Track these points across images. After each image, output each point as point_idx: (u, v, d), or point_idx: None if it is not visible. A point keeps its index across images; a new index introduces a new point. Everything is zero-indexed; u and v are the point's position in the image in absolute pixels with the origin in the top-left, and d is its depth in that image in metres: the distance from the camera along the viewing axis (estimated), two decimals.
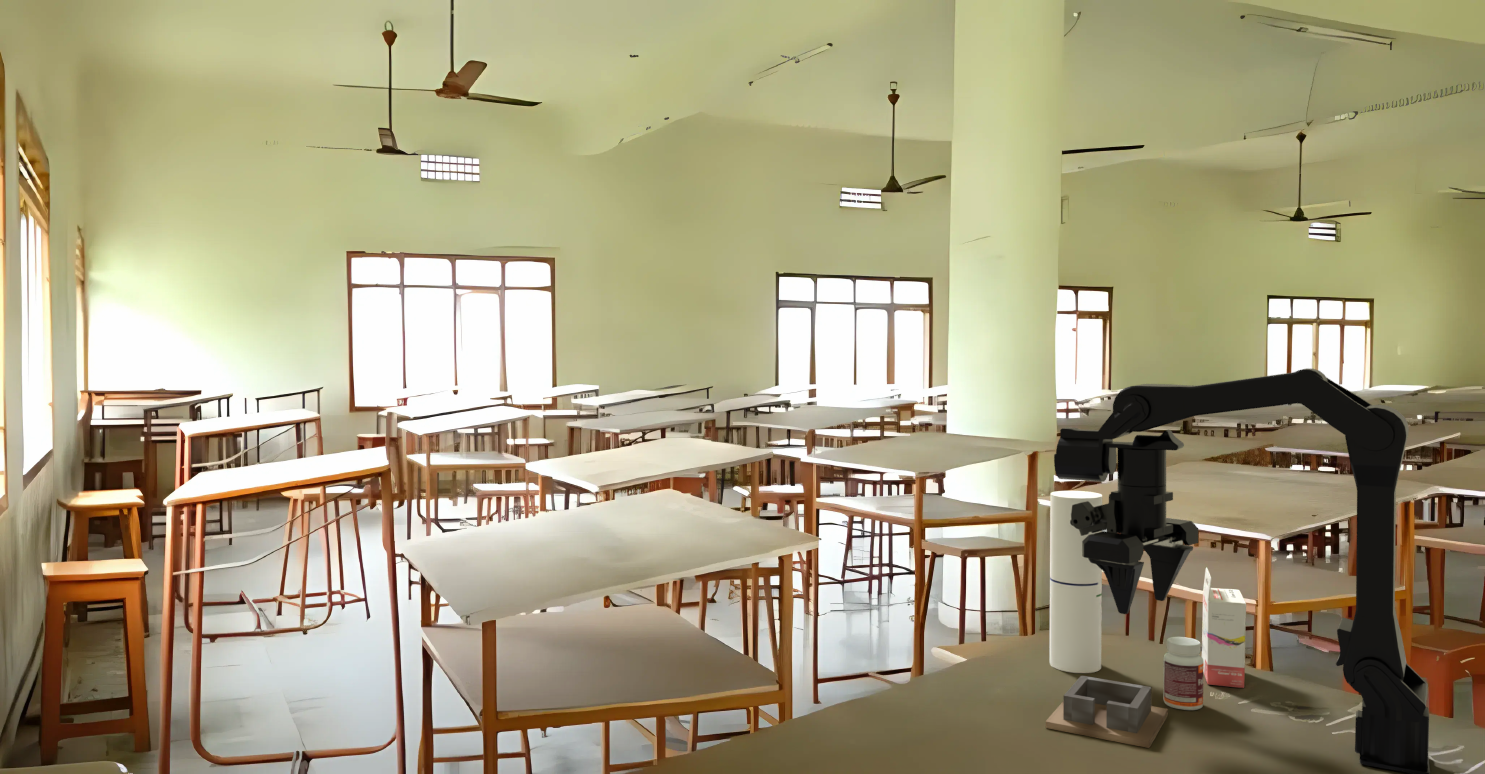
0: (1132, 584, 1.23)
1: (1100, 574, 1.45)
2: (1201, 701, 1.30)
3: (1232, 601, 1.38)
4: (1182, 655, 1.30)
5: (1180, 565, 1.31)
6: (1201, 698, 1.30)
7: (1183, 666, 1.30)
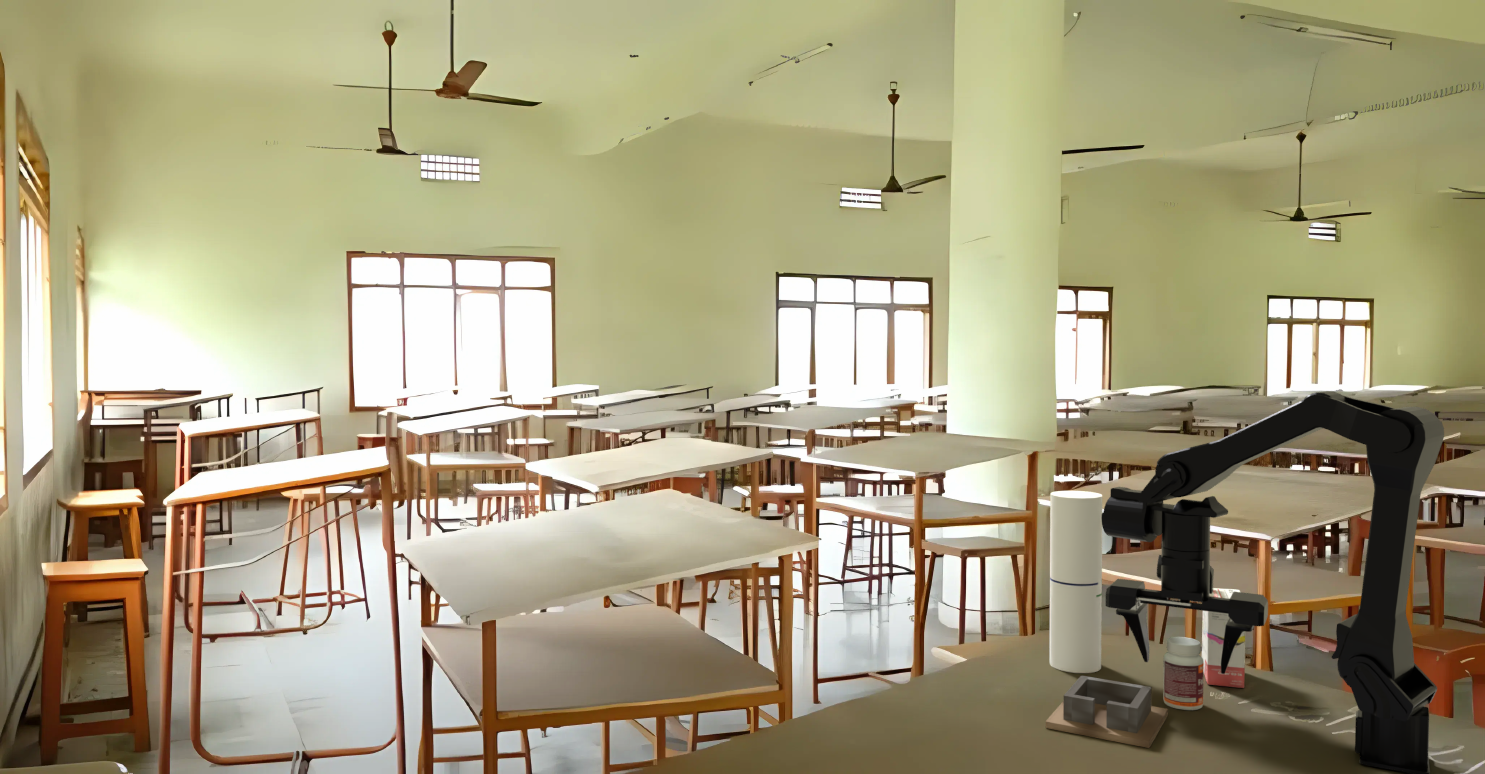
0: (1132, 632, 1.33)
1: (1100, 574, 1.45)
2: (1201, 701, 1.30)
3: None
4: (1182, 655, 1.30)
5: (1230, 641, 1.27)
6: (1201, 698, 1.30)
7: (1183, 666, 1.30)
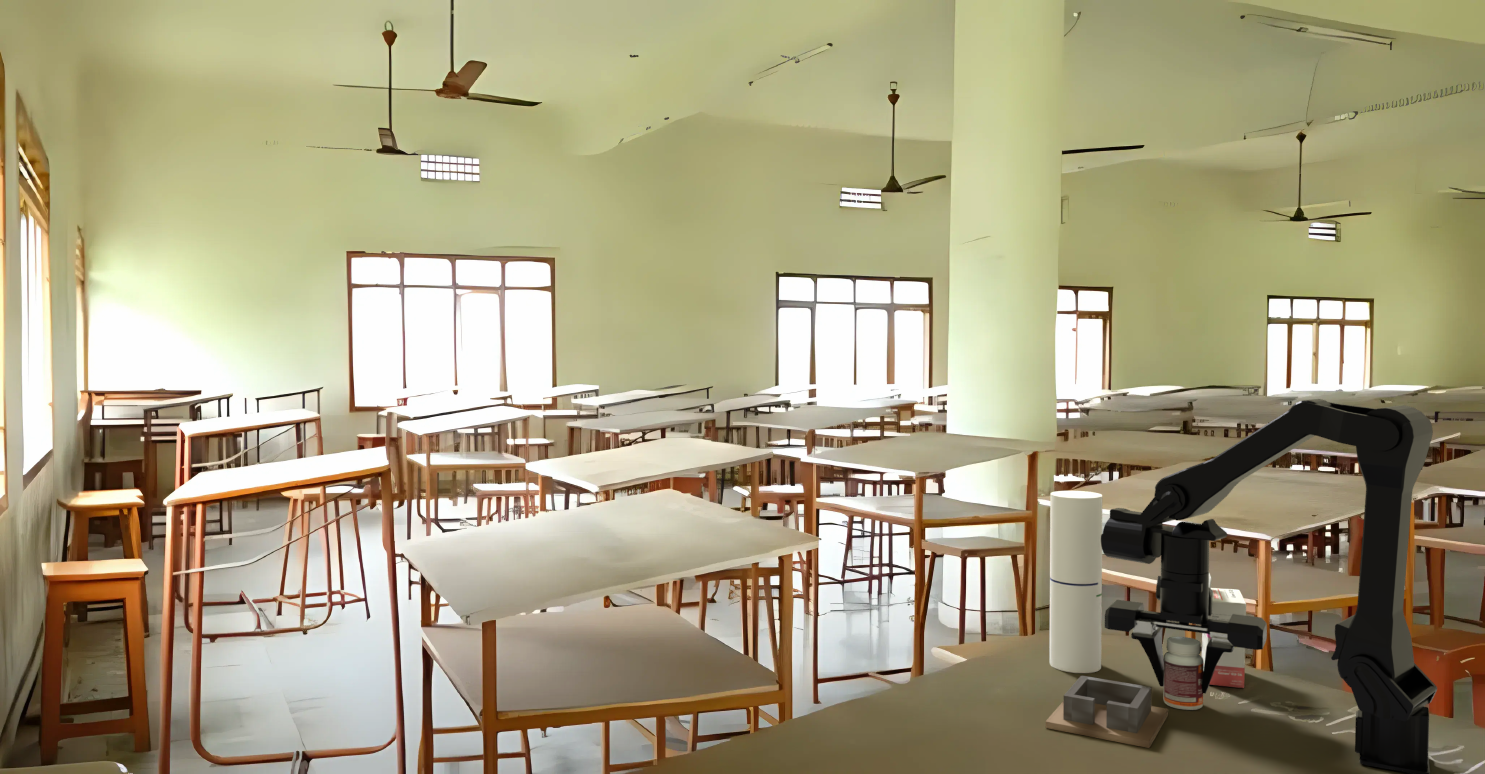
0: (1148, 656, 1.32)
1: (1100, 574, 1.45)
2: (1201, 701, 1.30)
3: (1232, 601, 1.38)
4: (1182, 655, 1.30)
5: (1211, 662, 1.28)
6: (1201, 698, 1.30)
7: (1183, 666, 1.30)
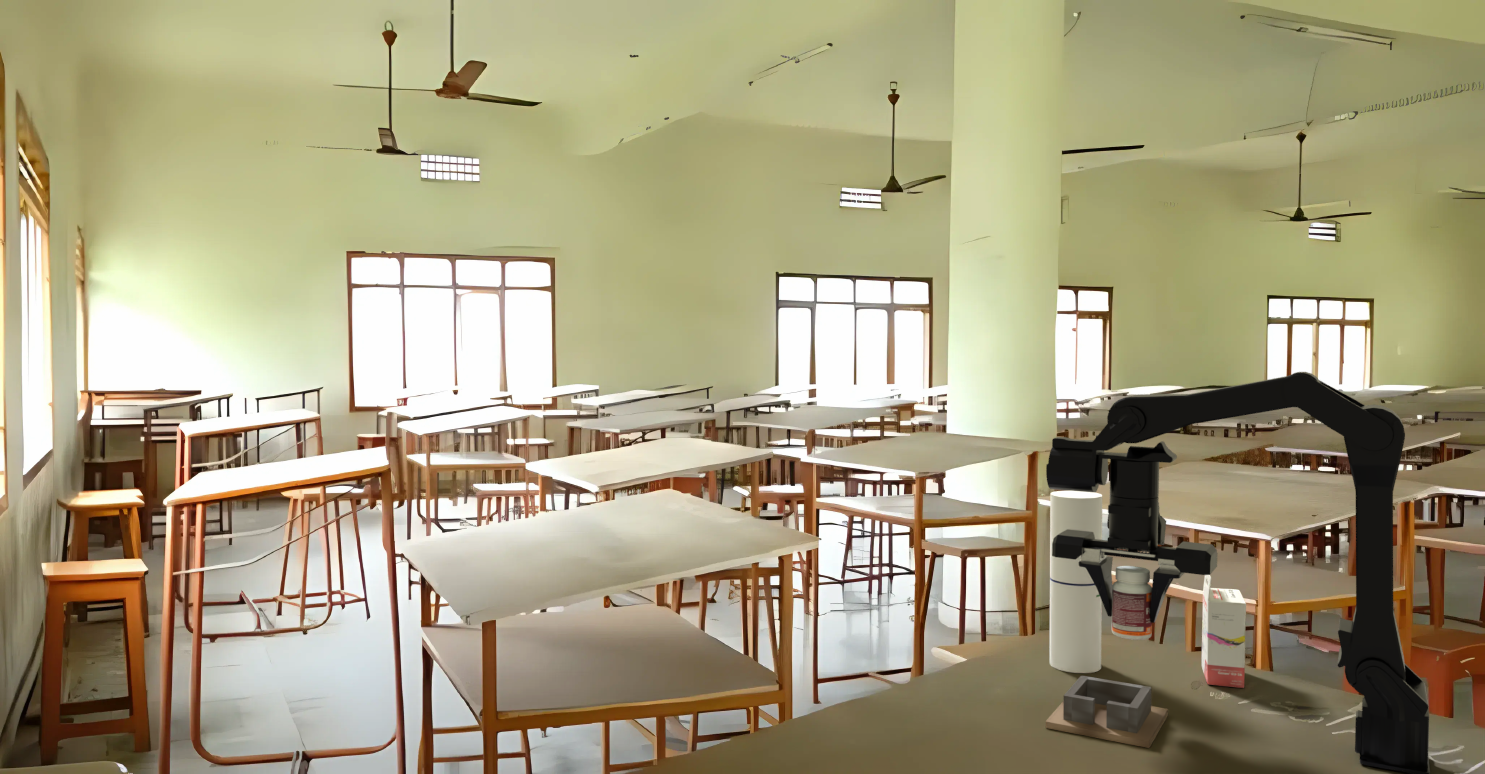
0: (1095, 584, 1.28)
1: None
2: (1149, 631, 1.26)
3: (1232, 601, 1.38)
4: (1130, 583, 1.26)
5: (1158, 589, 1.24)
6: (1149, 628, 1.26)
7: (1130, 594, 1.26)
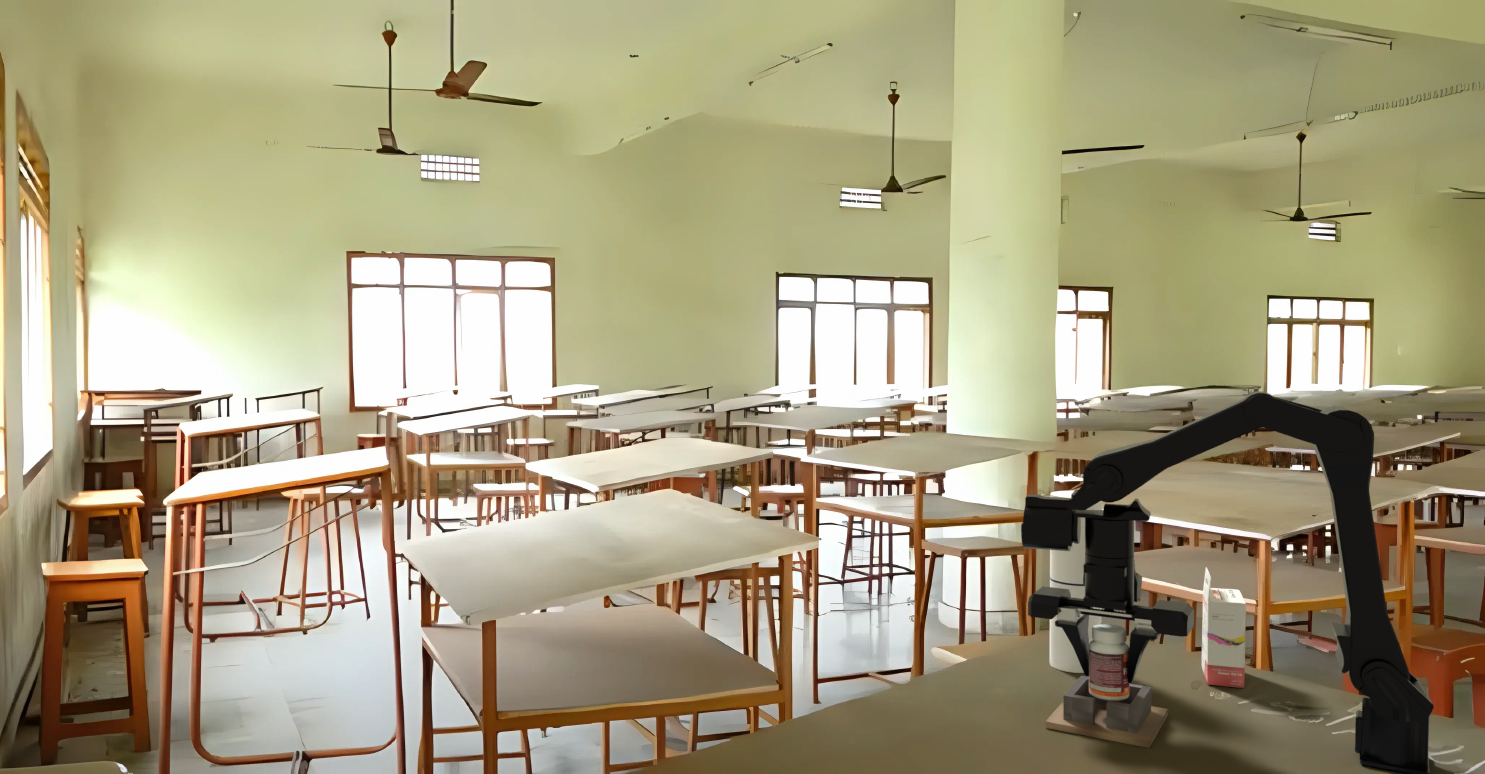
0: (1072, 644, 1.27)
1: None
2: (1127, 691, 1.25)
3: (1232, 601, 1.38)
4: (1107, 643, 1.24)
5: (1135, 650, 1.22)
6: (1127, 688, 1.25)
7: (1107, 655, 1.24)
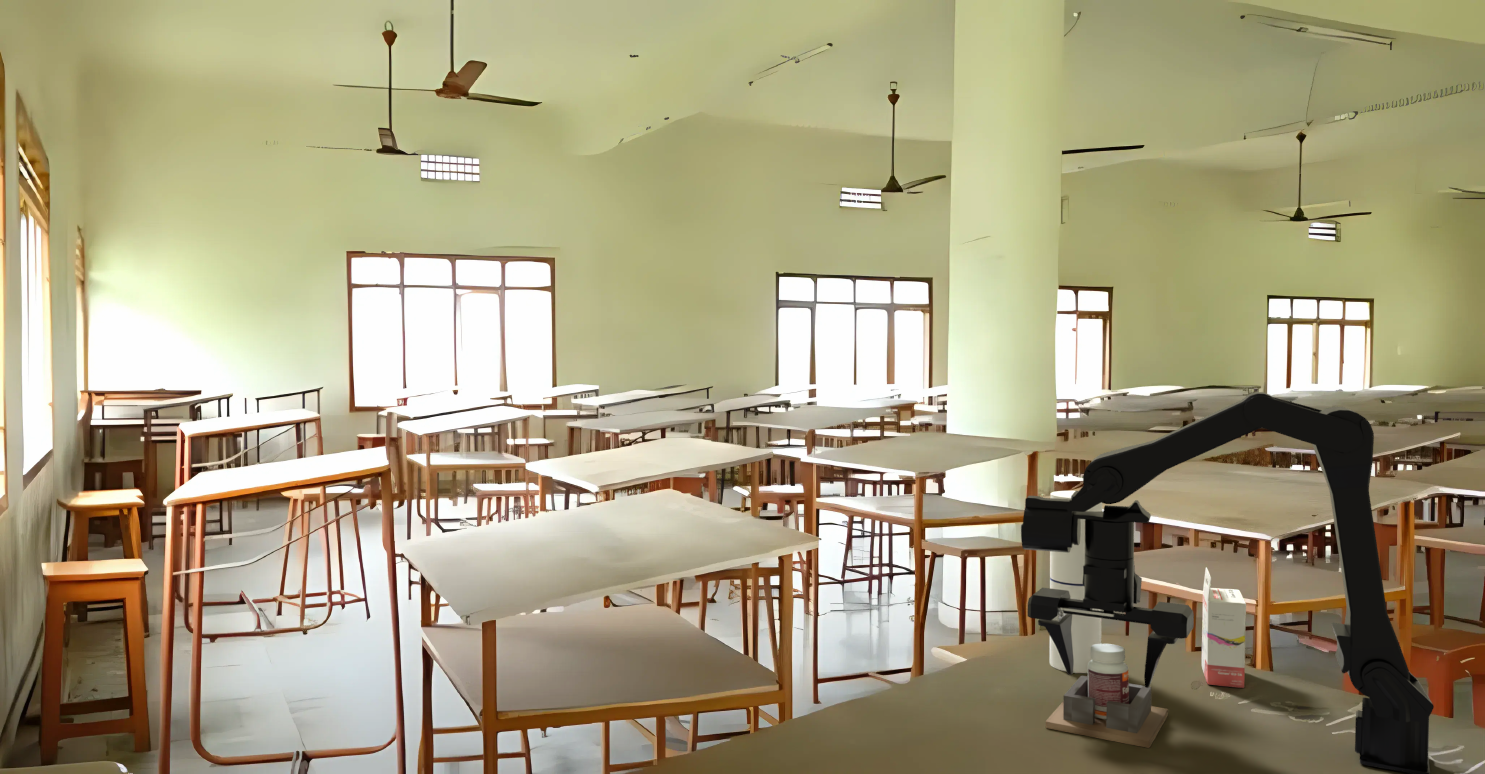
0: (1055, 643, 1.28)
1: None
2: None
3: (1232, 601, 1.38)
4: (1105, 663, 1.25)
5: (1153, 654, 1.21)
6: None
7: (1106, 674, 1.24)
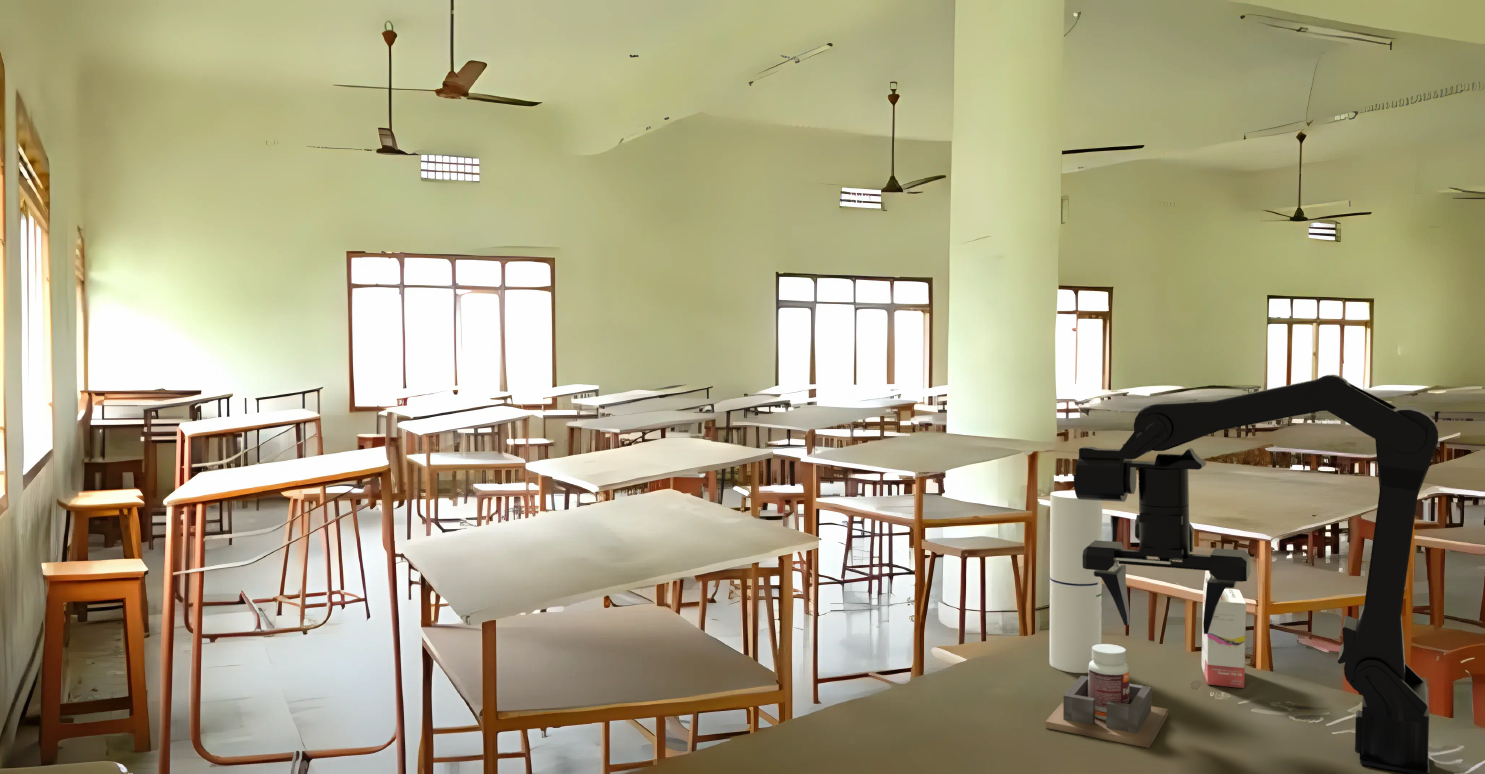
0: (1111, 594, 1.28)
1: None
2: None
3: (1232, 601, 1.38)
4: (1106, 663, 1.25)
5: (1212, 599, 1.22)
6: None
7: (1107, 675, 1.24)
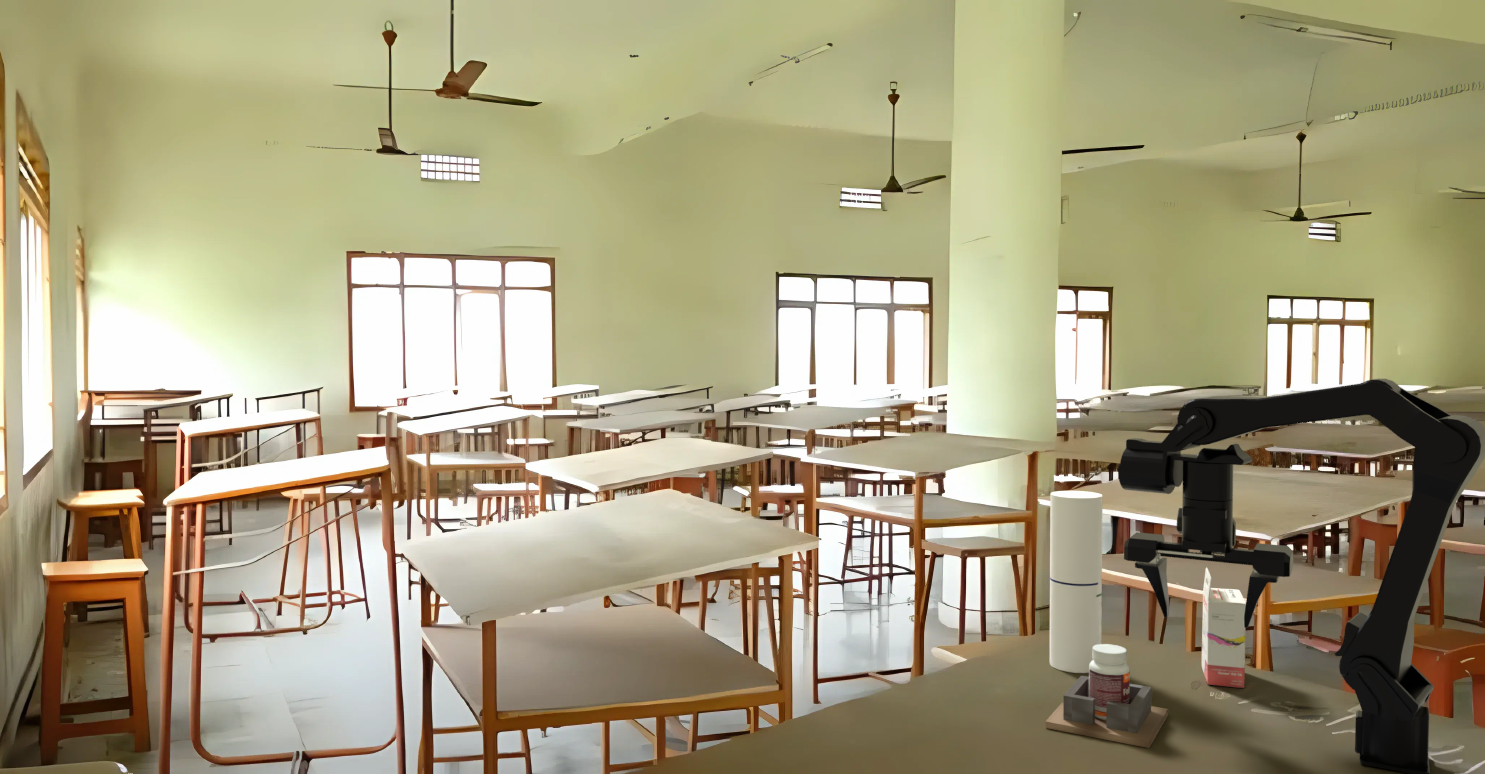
0: (1152, 585, 1.29)
1: (1100, 574, 1.45)
2: None
3: (1232, 601, 1.38)
4: (1107, 664, 1.25)
5: (1254, 593, 1.22)
6: None
7: (1107, 675, 1.24)
